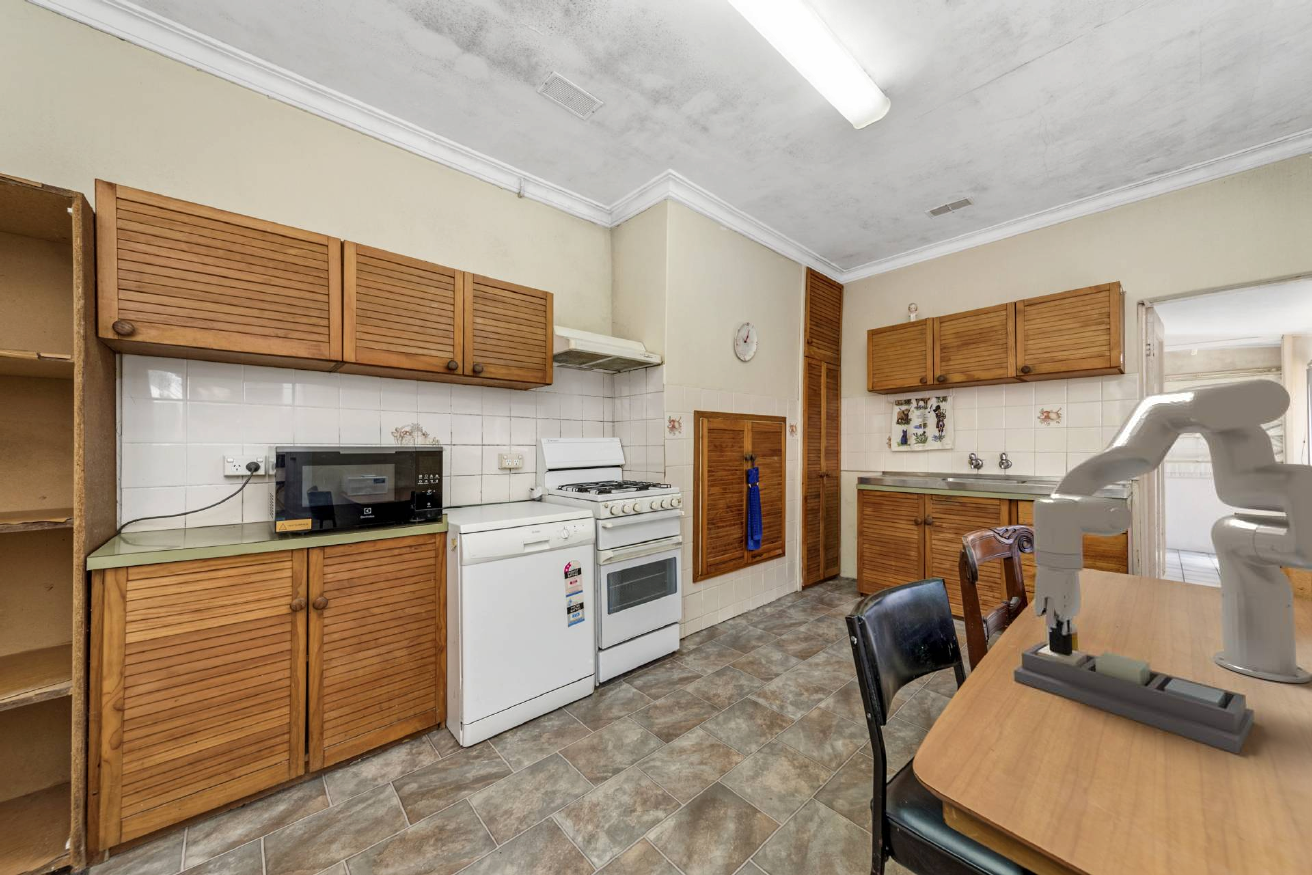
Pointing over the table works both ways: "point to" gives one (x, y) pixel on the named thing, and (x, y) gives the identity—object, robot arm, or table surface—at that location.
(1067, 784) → the table surface
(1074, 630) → the supplement bottle
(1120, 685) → the grey compartment tray
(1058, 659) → the cream key
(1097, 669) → the sage key
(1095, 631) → the table surface
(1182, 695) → the blue key
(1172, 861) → the table surface
